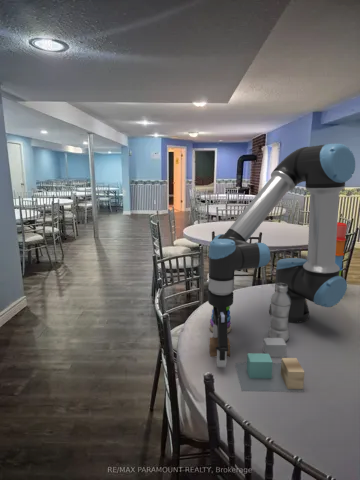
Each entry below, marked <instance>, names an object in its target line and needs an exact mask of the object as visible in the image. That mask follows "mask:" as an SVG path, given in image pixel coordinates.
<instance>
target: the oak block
mask: <svg viewBox="0 0 360 480" xmlns="http://www.w3.org/2000/svg"><path fill="white" fill-rule="evenodd" d="M280 363H281V376H282V378H283V380H284V383H285V385H286V387H287V389H303V390H304V385H305V384H304V383H305V370H304V368H303V367H302V365H301V364H300V362H299V360H298V358H297V357H281V361H280Z"/></svg>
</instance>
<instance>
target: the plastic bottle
mask: <svg viewBox="0 0 360 480" xmlns="http://www.w3.org/2000/svg"><path fill="white" fill-rule="evenodd" d="M287 291H288V285H287V284H284V283H277V284H276V292H275V291H274V292H273V294H272V295H271V297H270V304H271V309H272V315H271V319H270V325H269V330H268V335H269V336H268V338H283V340H284V341H285V343H286V342H287V341H288V340H289V338H290V331H289V322H288V315H289V310H290V305H291V299H290V297H289V295H288V293H287Z"/></svg>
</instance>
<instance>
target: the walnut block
mask: <svg viewBox="0 0 360 480" xmlns="http://www.w3.org/2000/svg"><path fill="white" fill-rule="evenodd" d="M208 345H209V346H208V347H209V356H210V357H212V358H213V357H215V358H217V350H216V349H215V348H216V347H218V338H213V336H212V337H209V344H208ZM228 357H231V343H230V338H229V337H228V351H227V358H228Z"/></svg>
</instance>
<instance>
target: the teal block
mask: <svg viewBox="0 0 360 480" xmlns="http://www.w3.org/2000/svg"><path fill="white" fill-rule="evenodd" d="M246 363H247V372H248V375H249V378H269V379H272V365H273V363H274V362H273V360H272V357H270V355H269V354H264V353H250V352H249V353H247V355H246Z"/></svg>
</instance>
